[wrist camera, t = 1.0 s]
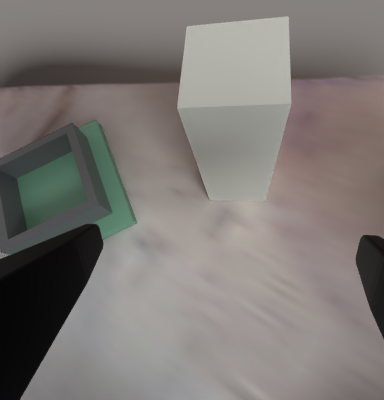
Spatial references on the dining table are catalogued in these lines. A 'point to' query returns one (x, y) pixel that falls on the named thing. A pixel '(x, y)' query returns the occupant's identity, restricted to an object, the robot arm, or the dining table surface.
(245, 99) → the white rectangular block
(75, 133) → the green and grey tray
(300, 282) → the dining table surface
